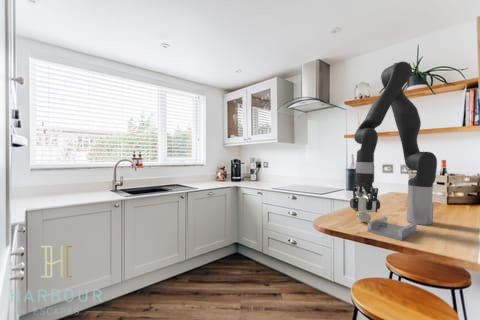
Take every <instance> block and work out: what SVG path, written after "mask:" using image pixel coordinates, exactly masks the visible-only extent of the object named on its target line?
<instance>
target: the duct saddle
mask: <svg viewBox="0 0 480 320" xmlns="http://www.w3.org/2000/svg"><path fill="white" fill-rule="evenodd" d="M417 225H418V224H417V223H409V224H408V225H406V226H404V225H403V226H402V225H397V224H393V223H389V222H388V217H387V216H383V217H380V218H377V219H375V220H374V219H373V220H371V221H369V222H367V232H368V233H372V234H375V235H380V236H383V237H386V238H389V239H390V238H391V239H394V240H398V241H403V240H405V239H407V238H410V237H411V236H412V235H414V234H417V228H418V227H417Z"/></svg>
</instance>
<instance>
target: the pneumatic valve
mask: <svg viewBox="0 0 480 320" xmlns="http://www.w3.org/2000/svg"><path fill="white" fill-rule="evenodd" d="M373 198H374V197H373ZM369 199H370V197H369ZM349 206H350V208H351V209H352V210H354V211H355V212H358V213H357V215H356V217H357V219H358V220H359V221H360V222H367V223H368V222H371V221H370V220H371V219H372V216H371V214H369V213H377V212H378V210H380V208H381V201H380V200H379V199H378V198H377V201H373V202H372V210H367V199H366V197H365V196H364V195H363V196H360V195H359V196H353V197H352V198H351V199H350V201H349Z"/></svg>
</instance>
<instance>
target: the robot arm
mask: <svg viewBox="0 0 480 320" xmlns="http://www.w3.org/2000/svg"><path fill="white" fill-rule="evenodd" d="M412 72H413V67H412V65H411V64H410V63H409V62H407V61H399V62H396V63H394V64H392V65H389V66H388V67H386V68H384V69H383V71H382V72H381V75H380V79H381V83H382V86H383V88H384V90H383V91H382V92H381V93H380V95H379V96H378V97H377V98H376V99H375V101H374V102H373V104H372V105H371V106H370V108H369V110H368V113H367V114H366V117H365V119H363V121H362V122H361V124H360V125H359V126H358V128H357V129H356V131H355V133H354V141H355V142H356V143H357V144H359V145H360V148H359V149H358V150H357V152H356V164H355V182H356V184H352V194H353V196H365V197H366V199H367V210H372V202H373V201H377V199H378V193H379V188H378V187H374V186H373V183H374V182H375V151H376V148H377V144H378V140H379V136H378V135H379V134H378V132H377V130H376V128H377V127H380V126H381V125H382V123H383V121H384V119H385V117H386V116H387V113H388V111H389V110H390V108H391V110H392V114H393V117H394V121H395V125H396V128H397V131H398V134H399V139H400V143H401V146H402V147H401V148H402V151H403V152H402V153H403V159H404V164H405V166H406V167H407V168H408V170H410V171H414V172H416V174H415V176H414V177H411V178H409V179H408V182H407V184H408V185H407V202H406V207H407V208H406V221H407V222H408V223H410V224H412V223H417V225H423V226H428V225H429V226H430V225H432V224H433V223H434V220H433V219H434V203H433V194H434V193H433V191H434V183H435V181H436V176H437V168H438V167H437V166H438V159H437V156H436V155H435V154H434V153H433V152H431V151H420V149H419V145H418V136H419V133H420V130H421V126H422V123H421V117H420V115H419V111H418V108H417V107H416V105H415V104H414V103H413V102H412V101H411V100H410V99H409V98H408V97H407V96H406V95H405V92H404V91H403V88H404V86H405V85H406V83H407V82H408V81H409V79H410V77H411V76H412ZM369 197H370V199H369ZM373 197H374V198H373Z"/></svg>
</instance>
